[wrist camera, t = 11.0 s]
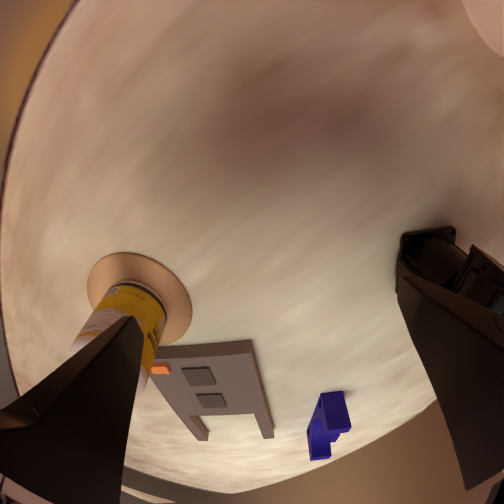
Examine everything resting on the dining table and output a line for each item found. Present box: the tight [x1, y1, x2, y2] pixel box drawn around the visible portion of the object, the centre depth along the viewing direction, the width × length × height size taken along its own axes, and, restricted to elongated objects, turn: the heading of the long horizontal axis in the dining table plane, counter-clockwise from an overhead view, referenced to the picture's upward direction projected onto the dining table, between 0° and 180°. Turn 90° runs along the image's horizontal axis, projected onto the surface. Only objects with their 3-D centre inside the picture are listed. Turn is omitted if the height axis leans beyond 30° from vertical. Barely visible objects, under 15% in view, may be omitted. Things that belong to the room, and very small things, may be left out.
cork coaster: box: [87, 253, 192, 346], centre depth 24 cm, size 11×11×1 cm
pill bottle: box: [70, 281, 167, 397], centre depth 19 cm, size 6×6×12 cm
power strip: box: [149, 340, 274, 441], centre depth 31 cm, size 12×21×2 cm, turn 10°
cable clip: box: [307, 391, 351, 461], centre depth 32 cm, size 12×4×6 cm, turn 0°
